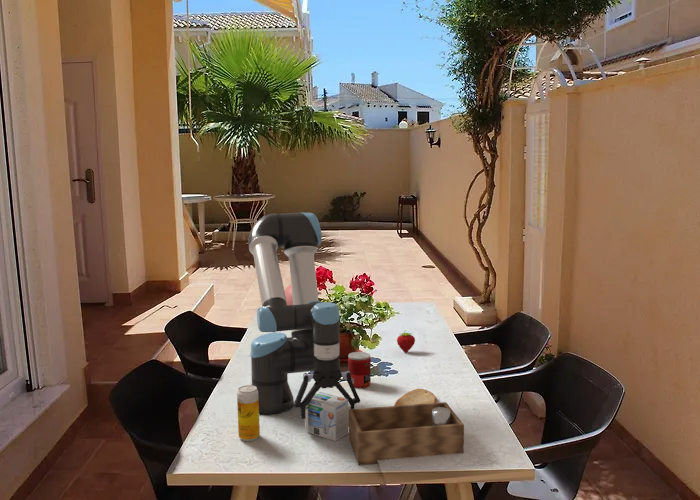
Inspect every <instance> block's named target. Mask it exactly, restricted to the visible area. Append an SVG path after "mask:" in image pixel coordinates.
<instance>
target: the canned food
mask: <svg viewBox="0 0 700 500" xmlns="http://www.w3.org/2000/svg"><path fill="white" fill-rule="evenodd" d="M371 360H372V359H371V354H370V353H368V352H365V351H354V352H353V351H352V352H350V353H348V357H347V365H348V366H347V370H349V371H350V374H351V381H352V383H353V385H354V387H355V389H366V388H369V387H370V385H371V380H372V379H371V377H372V376H371V374H372V373H371V372H372V371H371V370H372V369H371V368H372V367H371V363H372V362H371Z"/></svg>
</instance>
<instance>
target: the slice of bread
mask: <svg viewBox="0 0 700 500" xmlns="http://www.w3.org/2000/svg"><path fill="white" fill-rule="evenodd" d="M437 401H438V400H437V397H436V395H435V393H433V392H432V391H430V390H427V389H424V388H419V387H417V388H415V389H412V390H410V391H408V392H406V393H405V394H403V395H401V396H400V397H399V398H398V399H397V400H396V401H395V403H394V405H393V406H401V405H414V404H428V403H438V402H437Z"/></svg>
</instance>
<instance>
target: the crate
mask: <svg viewBox="0 0 700 500" xmlns="http://www.w3.org/2000/svg"><path fill="white" fill-rule="evenodd" d="M437 407H444V408H447V409H449V410H450V424H449V425H436V426H432V409H434V408H437ZM348 440H349V443H350V445H351V448H352V452H353V453H354V456H355V459H356V462H357V465H358V466H367V465H377V464H379V462H378V461H386V460H397V459H398V460H399V459H407V458H410V459H411V458H420V457H421V458H422V457H431V456H445V455H456V454H465V453H464V447H465V445H464V442H465V424H464V422H463V421H461V419H460V418H459V417H458V416H457V413H455V412H454V411H453V409H452V408H451V407H450V405H449V404H448V403H447V402H446V401H443V402H437V403H428V404H414V405H401V406H394V405H388V406H377V407H376V406H374V407H362V408H354V409H349V427H348Z"/></svg>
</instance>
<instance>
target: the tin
mask: <svg viewBox="0 0 700 500" xmlns="http://www.w3.org/2000/svg"><path fill="white" fill-rule="evenodd" d="M449 424H450V410H449V409H447V408H444V407H437V408H434V409H432V426H436V425H449Z"/></svg>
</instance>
